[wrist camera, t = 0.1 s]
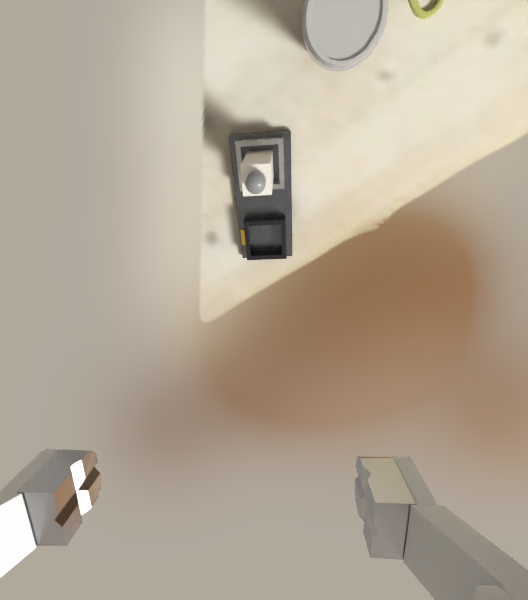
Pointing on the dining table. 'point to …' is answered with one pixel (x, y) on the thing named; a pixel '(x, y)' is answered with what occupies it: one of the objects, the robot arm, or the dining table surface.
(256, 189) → the plug
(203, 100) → the dining table surface
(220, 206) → the dining table surface
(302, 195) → the dining table surface
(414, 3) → the key
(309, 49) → the disposable coffee cup
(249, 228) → the panel
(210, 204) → the dining table surface
